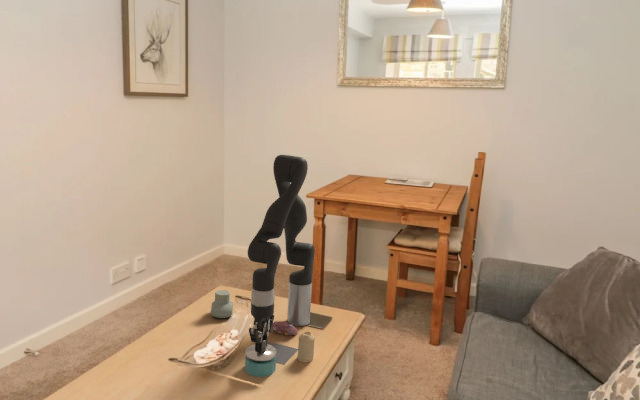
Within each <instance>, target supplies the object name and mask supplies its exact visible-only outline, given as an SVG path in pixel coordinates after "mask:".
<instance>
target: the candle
mask: <svg viewBox="0 0 640 400" xmlns="http://www.w3.org/2000/svg"><path fill="white" fill-rule="evenodd" d="M297 346H298V347H297V349H298V351H297V359H298V361H299V362H302V363H310V362H312V361H313V360H314V354H315V336H314V334H312V333H311V332H310V331H304V332H302V333H301V334H300V335H299V336H298V345H297Z"/></svg>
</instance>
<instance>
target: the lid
mask: <svg viewBox="0 0 640 400" xmlns="http://www.w3.org/2000/svg"><path fill="white" fill-rule="evenodd" d="M244 355H245V357H247V358H249V359H251V360H253V361H268V360H271V359H273V358H274V357H275V356H276V355H277V350H276V348H275V347H273V346H271V345H268V344H267V347H266V339H265V338H262V352H260V353H259V352H256V351H255V343H254V344H251V345H248V346H247V347H245V350H244Z"/></svg>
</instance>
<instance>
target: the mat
mask: <svg viewBox="0 0 640 400" xmlns="http://www.w3.org/2000/svg"><path fill="white" fill-rule="evenodd" d="M267 344H268V345H271V346H273V347H275V348H276V350H277V355H276V364H280V365H283V366H285V365H286V364H287V363H288V361H289V360H291V358H292V357H293V356H294V355H296V353H298V348H295V347H292V346H288V345H283V344H280V343H276V342H273V341H272V342H271V341H267Z"/></svg>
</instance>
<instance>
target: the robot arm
mask: <svg viewBox="0 0 640 400" xmlns="http://www.w3.org/2000/svg"><path fill="white" fill-rule="evenodd" d="M308 167H309V164H308V161H307V158H305V157H301V156H296V155H290V154H289V155H288V154H279V155H277V156H276V157H275V158H274V161H273V167H272V168H273V176H274V181H275V184H276V188H277V193H278V198H277V199H275V201H273V202H272V203H271V205H270V206H269V207H268V209H267V210H266V213H265V215H264V219H263V221H262V225H261V227H260V228H259V230H258V231H257V233H256V234H255V236H254V237H253V238H252V240H251V242H250V243H249V245H248V248H247V257H248V259H249V261H251V262H253V263H259V264H265V265H266V267H263V268H262V267H261V268H257V269H255V270H254V271H253V273H252V286H251V287H252V288H251V295H250V297H251V298H250V300H251V301H250V314H251V316H252V317H253V319H254V320H253V325H252V327H249V328H248V334H249V338H250V342H251V343H254V344H255V351H256V352H259V353H260V352H262V338H265V339H266V347H267V343H268V337H269V336H270V333H272V330H273V329H272V325H273V323H274V322H275V321H274V320H275V294H276V293H275V276H276V271H277V268H278V265H279V262H280V259H281V256H282V249H281V246H280V245H279V244H278V243H277V242H271V241H270V240H271V239H279V238H280V237H281V236H282V234H283V232H284V237H285V239H284V240H285V257H286V258H285V259H286V261H287V263H288V264H289V265H292V266H300V267H303V269H300V270H295V271H293V272H291V273H290V274H289V278H288V298H287V316H286V317H287V319H286V320H287V321H286V322H287V323H289V324H292V325H293V326H294V327H295V326H296V327H303V326H307V325H308V324H309V325H310V322H311V307H312V286H313V272H314V262H315V255H316V249H315V246H314V244H313V243H308V242H300V241H297V240H296V239H297V237H298V235H299V234H300V233H301V232H302V231H303V229H304V228H305V227H306V224H307V222H308V215H307V207H306V206H307V205H306V204H305V202H304V200H303V199H302V197H301V196H300V195H299V193H300V191H301V189H302V186H303V184H304V183H305V180H306V177H307V175H308ZM269 241H270V242H269Z"/></svg>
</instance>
